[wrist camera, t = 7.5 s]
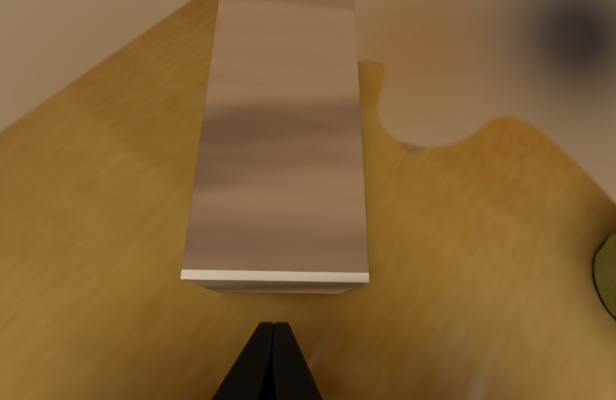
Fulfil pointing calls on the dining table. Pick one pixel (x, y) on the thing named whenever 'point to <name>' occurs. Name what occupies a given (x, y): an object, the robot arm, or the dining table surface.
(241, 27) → the walnut block
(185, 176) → the dining table surface
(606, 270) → the plant pot
